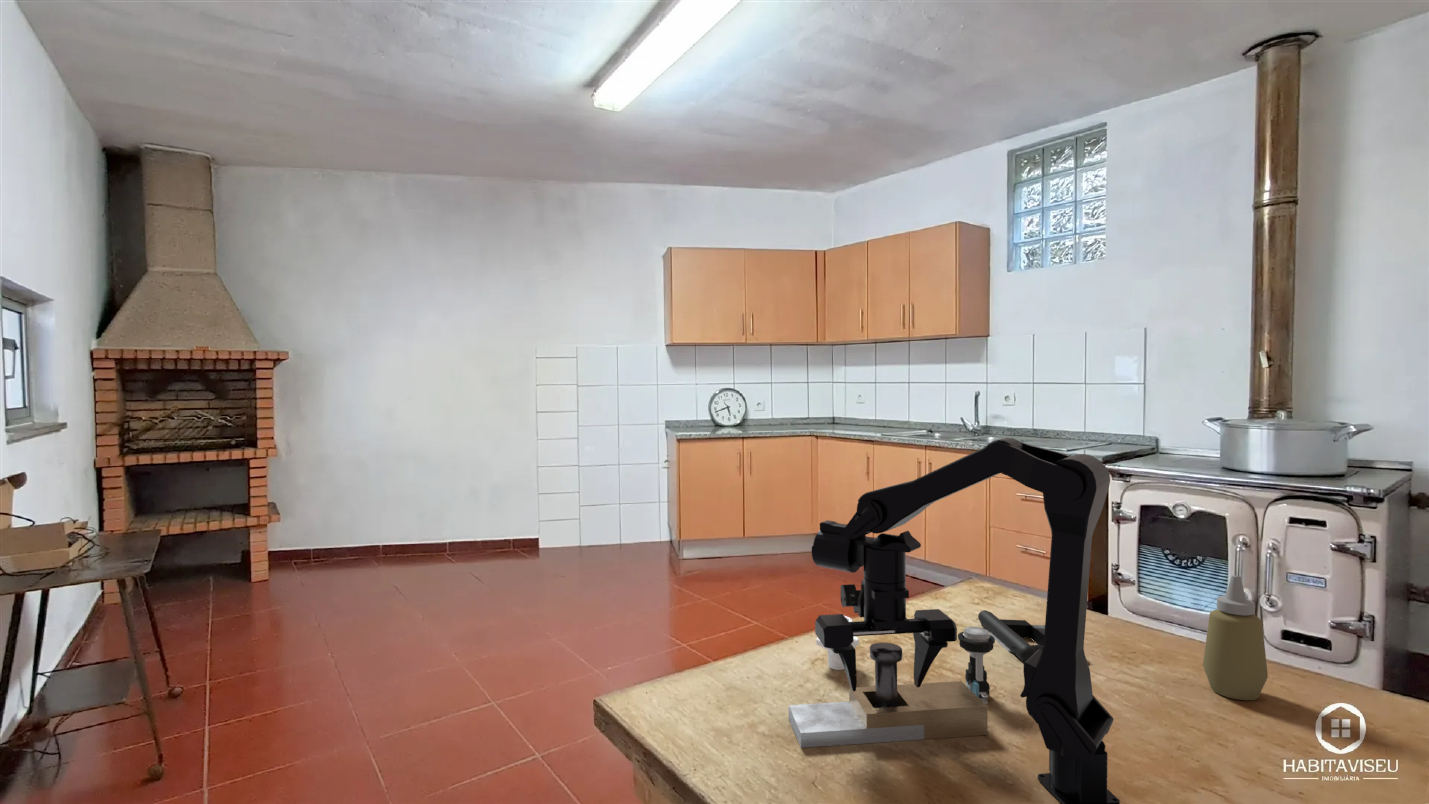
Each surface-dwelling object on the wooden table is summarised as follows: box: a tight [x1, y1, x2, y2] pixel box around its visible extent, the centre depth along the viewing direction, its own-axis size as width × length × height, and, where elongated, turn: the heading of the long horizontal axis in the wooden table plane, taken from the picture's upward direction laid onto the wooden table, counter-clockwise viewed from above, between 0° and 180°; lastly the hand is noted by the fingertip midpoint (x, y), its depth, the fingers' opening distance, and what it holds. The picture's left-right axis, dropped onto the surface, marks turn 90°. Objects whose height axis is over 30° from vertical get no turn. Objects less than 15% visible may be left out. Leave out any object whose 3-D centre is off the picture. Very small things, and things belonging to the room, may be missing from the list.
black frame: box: [977, 609, 1045, 663], centre depth 130 cm, size 3×20×16 cm
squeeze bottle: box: [1202, 574, 1269, 701], centre depth 108 cm, size 8×8×18 cm
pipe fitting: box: [815, 615, 860, 671], centre depth 120 cm, size 6×7×8 cm
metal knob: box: [869, 642, 903, 708], centre depth 99 cm, size 4×4×11 cm
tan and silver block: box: [788, 680, 989, 749], centre depth 100 cm, size 8×26×4 cm, turn 96°
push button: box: [957, 626, 996, 705], centre depth 108 cm, size 7×5×10 cm
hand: (885, 688), depth 99 cm, fingers open, 9 cm apart
